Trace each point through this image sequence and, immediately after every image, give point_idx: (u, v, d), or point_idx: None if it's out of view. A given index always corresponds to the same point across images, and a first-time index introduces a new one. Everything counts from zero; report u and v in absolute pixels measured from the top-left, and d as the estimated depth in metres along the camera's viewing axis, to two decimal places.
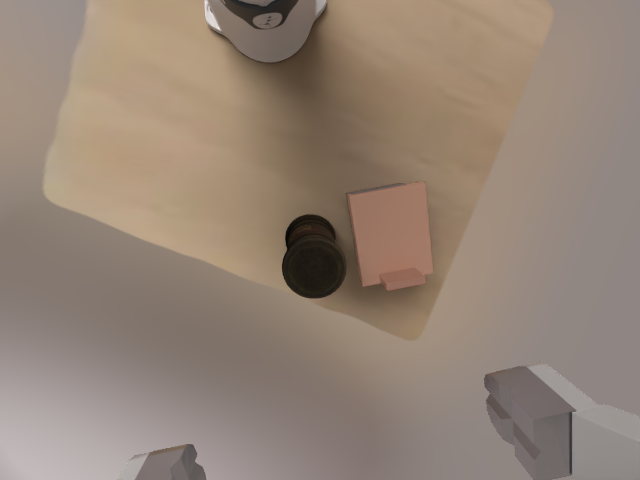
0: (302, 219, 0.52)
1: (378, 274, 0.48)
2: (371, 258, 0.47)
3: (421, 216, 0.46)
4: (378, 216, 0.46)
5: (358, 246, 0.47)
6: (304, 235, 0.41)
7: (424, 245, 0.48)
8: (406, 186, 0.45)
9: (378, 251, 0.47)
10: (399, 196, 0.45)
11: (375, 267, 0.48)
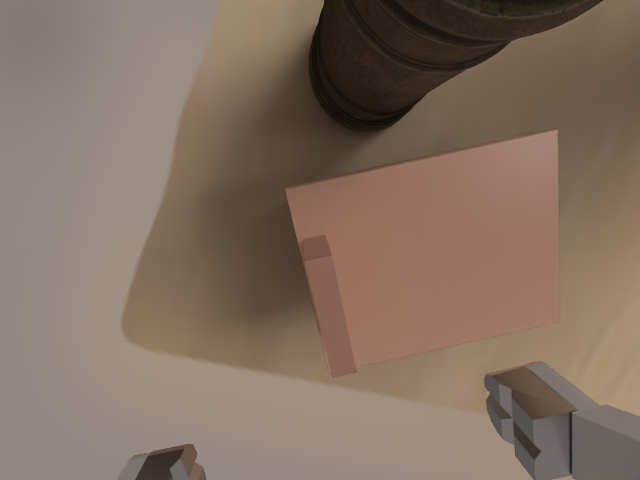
0: None
1: (325, 232, 0.17)
2: (373, 208, 0.16)
3: (478, 325, 0.19)
4: (491, 217, 0.17)
5: (411, 166, 0.16)
6: None
7: (403, 342, 0.19)
8: (556, 280, 0.18)
9: (392, 225, 0.17)
10: (534, 266, 0.18)
11: (346, 222, 0.17)
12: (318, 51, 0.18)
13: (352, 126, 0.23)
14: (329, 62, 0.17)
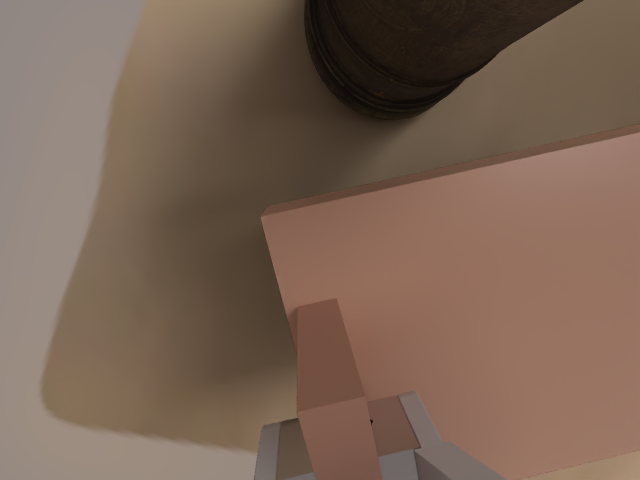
0: None
1: (336, 294, 0.09)
2: (426, 249, 0.09)
3: (593, 439, 0.11)
4: (634, 263, 0.09)
5: (500, 172, 0.08)
6: None
7: None
8: None
9: (459, 279, 0.09)
10: None
11: (375, 275, 0.09)
12: None
13: (369, 111, 0.16)
14: None
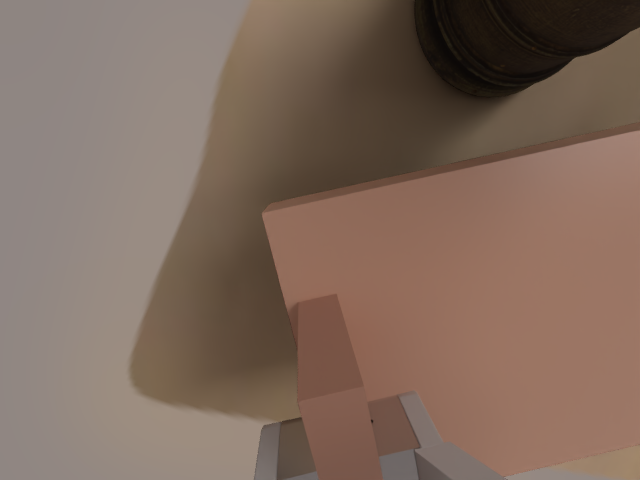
0: None
1: (336, 290, 0.09)
2: (425, 245, 0.09)
3: (589, 434, 0.11)
4: (630, 260, 0.10)
5: (498, 169, 0.09)
6: None
7: None
8: None
9: (457, 275, 0.09)
10: None
11: (375, 271, 0.09)
12: None
13: (475, 88, 0.16)
14: None
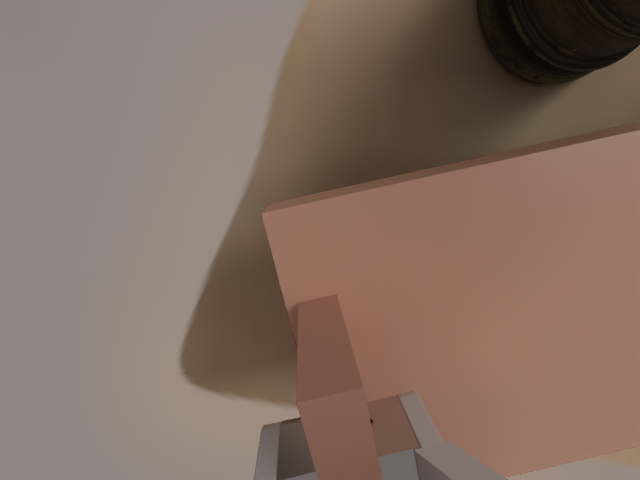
0: None
1: (336, 290, 0.09)
2: (425, 246, 0.09)
3: (590, 435, 0.11)
4: (632, 260, 0.09)
5: (498, 169, 0.08)
6: None
7: None
8: None
9: (457, 276, 0.09)
10: None
11: (375, 271, 0.09)
12: None
13: (537, 73, 0.16)
14: None
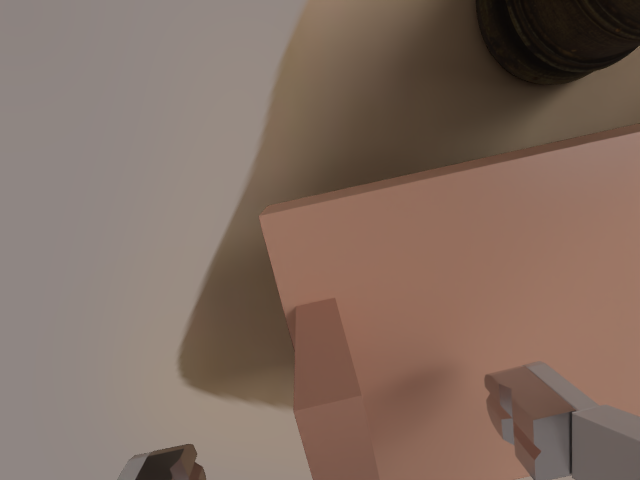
0: None
1: (334, 294, 0.09)
2: (425, 249, 0.09)
3: None
4: (633, 262, 0.09)
5: (498, 171, 0.08)
6: None
7: (466, 469, 0.11)
8: None
9: (457, 279, 0.09)
10: None
11: (373, 274, 0.09)
12: None
13: (536, 74, 0.16)
14: None
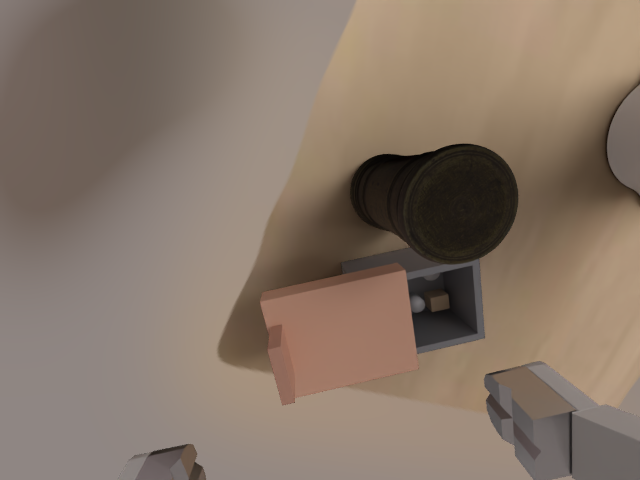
0: None
1: (282, 323, 0.30)
2: (308, 310, 0.30)
3: (371, 371, 0.32)
4: (373, 313, 0.31)
5: (328, 289, 0.30)
6: None
7: (329, 381, 0.32)
8: (414, 346, 0.32)
9: (319, 318, 0.30)
10: (401, 338, 0.32)
11: (293, 317, 0.30)
12: (363, 199, 0.32)
13: None
14: (371, 212, 0.31)
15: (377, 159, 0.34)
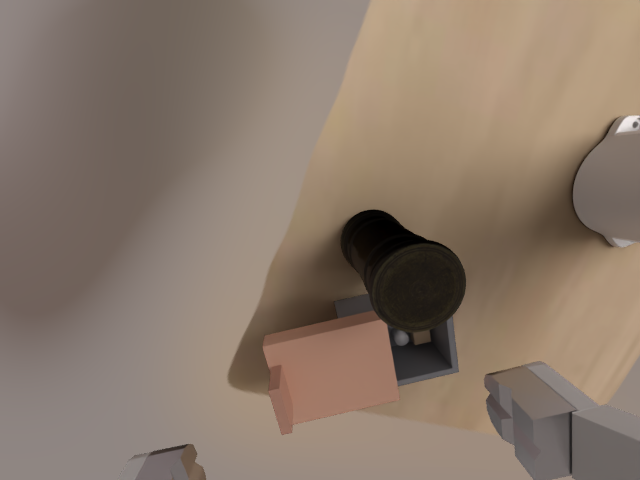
0: None
1: (281, 363, 0.36)
2: (303, 352, 0.36)
3: (359, 402, 0.38)
4: (359, 354, 0.36)
5: (319, 335, 0.35)
6: None
7: (322, 410, 0.38)
8: (395, 380, 0.37)
9: (312, 359, 0.36)
10: (383, 374, 0.37)
11: (291, 359, 0.36)
12: (349, 255, 0.37)
13: None
14: (356, 268, 0.36)
15: (363, 217, 0.39)
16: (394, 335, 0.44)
